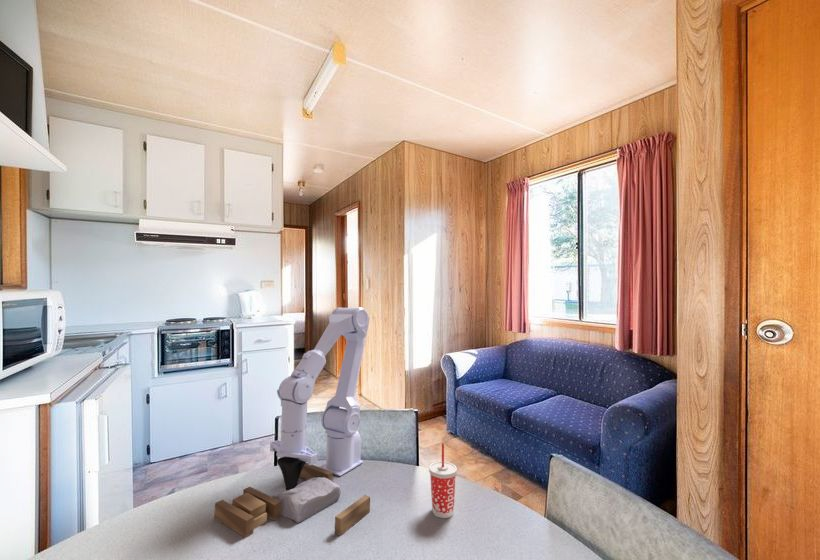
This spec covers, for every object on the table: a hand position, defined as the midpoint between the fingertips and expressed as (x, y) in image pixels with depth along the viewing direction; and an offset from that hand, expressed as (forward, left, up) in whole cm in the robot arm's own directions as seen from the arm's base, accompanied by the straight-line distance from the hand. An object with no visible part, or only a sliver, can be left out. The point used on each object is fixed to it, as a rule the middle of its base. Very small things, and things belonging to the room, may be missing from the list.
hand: (291, 488), depth 77 cm
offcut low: (+11, 0, -2) cm, 11 cm away
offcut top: (+11, 0, 0) cm, 11 cm away
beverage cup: (-13, +33, -1) cm, 36 cm away
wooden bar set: (+3, +7, -1) cm, 8 cm away
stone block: (0, +6, -2) cm, 6 cm away
